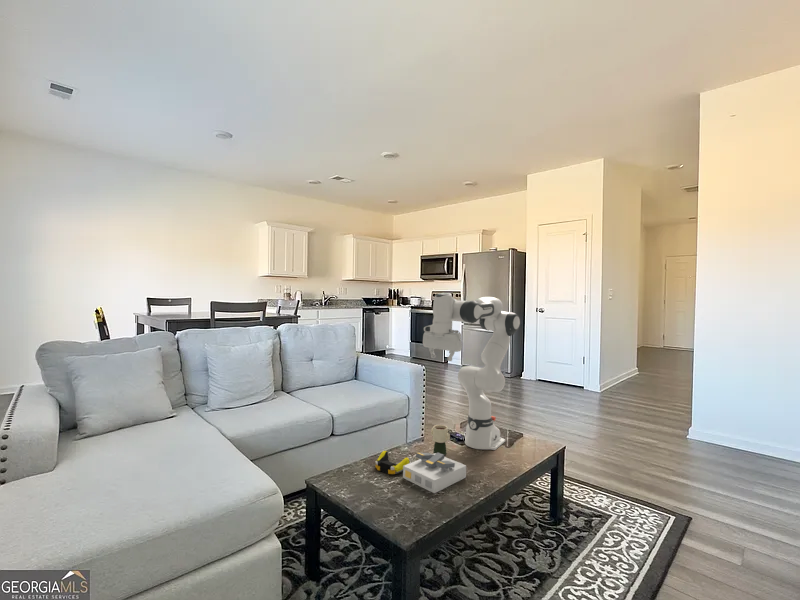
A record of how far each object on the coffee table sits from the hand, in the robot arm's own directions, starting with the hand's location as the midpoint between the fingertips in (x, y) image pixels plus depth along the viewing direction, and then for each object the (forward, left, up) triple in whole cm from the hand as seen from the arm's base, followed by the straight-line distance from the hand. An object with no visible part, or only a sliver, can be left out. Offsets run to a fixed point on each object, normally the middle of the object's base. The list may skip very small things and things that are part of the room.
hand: (441, 359), depth 179 cm
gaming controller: (+21, -9, -47) cm, 52 cm away
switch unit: (+13, +9, -47) cm, 49 cm away
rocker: (+13, +9, -39) cm, 42 cm away
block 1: (+13, +3, -39) cm, 42 cm away
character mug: (-7, -5, -47) cm, 48 cm away
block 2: (+13, +14, -39) cm, 44 cm away
